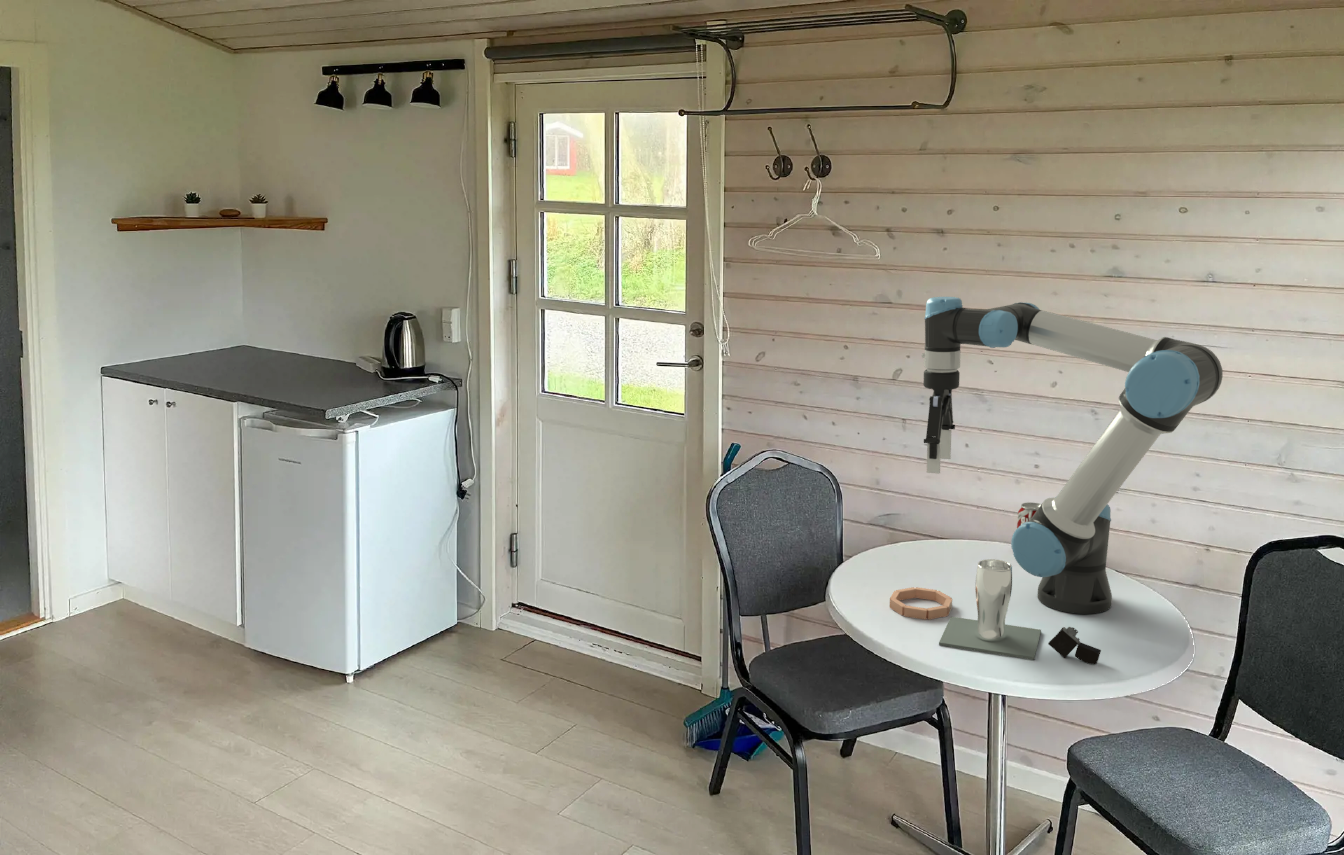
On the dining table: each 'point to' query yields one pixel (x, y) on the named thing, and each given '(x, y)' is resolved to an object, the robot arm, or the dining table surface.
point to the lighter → (1068, 641)
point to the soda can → (1027, 512)
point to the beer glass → (992, 598)
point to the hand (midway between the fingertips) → (938, 465)
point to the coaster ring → (917, 611)
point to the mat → (1015, 645)
